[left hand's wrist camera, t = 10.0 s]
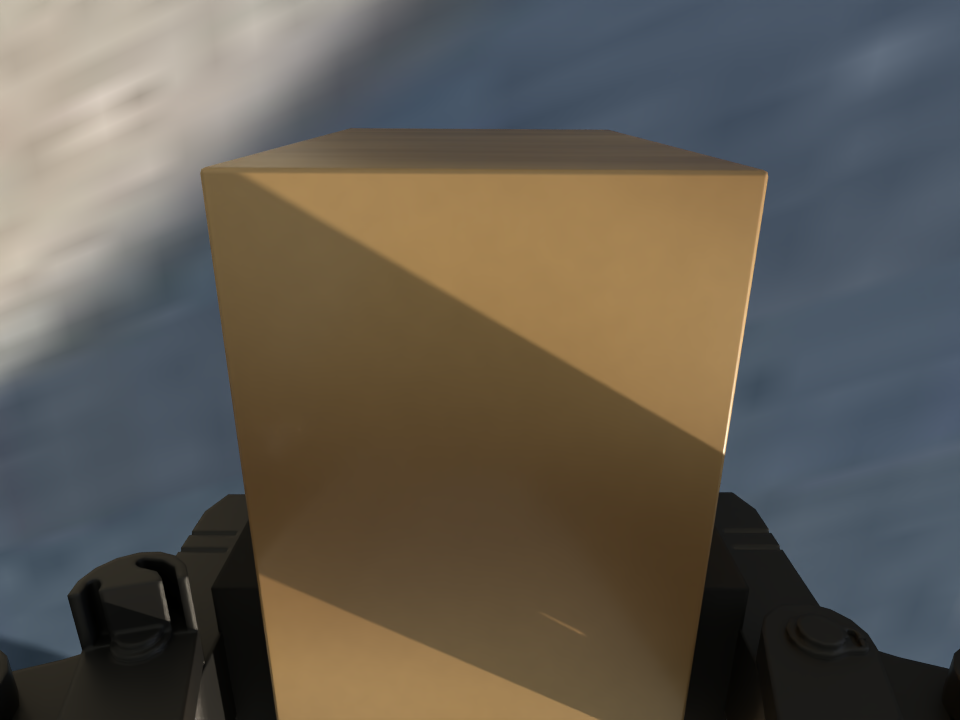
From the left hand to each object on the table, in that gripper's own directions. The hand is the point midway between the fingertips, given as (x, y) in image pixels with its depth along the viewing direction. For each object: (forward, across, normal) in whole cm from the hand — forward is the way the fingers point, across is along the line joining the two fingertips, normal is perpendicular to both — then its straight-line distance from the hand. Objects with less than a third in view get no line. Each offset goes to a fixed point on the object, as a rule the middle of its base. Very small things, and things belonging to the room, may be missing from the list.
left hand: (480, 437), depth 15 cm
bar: (+1, 0, -22) cm, 22 cm away
